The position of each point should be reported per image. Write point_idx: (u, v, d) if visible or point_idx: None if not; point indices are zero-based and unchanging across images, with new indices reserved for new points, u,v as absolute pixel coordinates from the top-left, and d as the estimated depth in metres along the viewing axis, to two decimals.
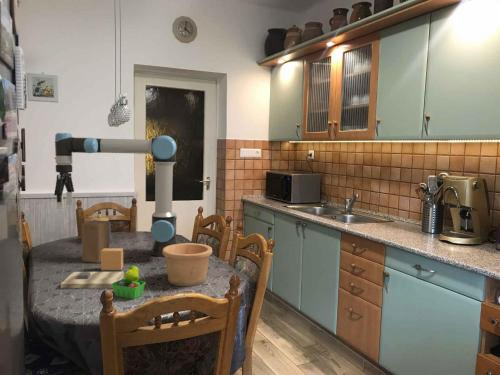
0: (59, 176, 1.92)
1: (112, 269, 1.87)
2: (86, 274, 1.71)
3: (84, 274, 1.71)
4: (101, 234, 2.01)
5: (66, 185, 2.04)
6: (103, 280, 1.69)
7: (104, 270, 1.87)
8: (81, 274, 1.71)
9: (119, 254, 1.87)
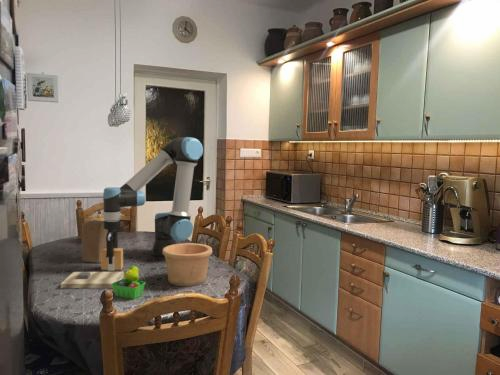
0: (109, 238, 1.82)
1: None
2: (86, 274, 1.71)
3: (84, 274, 1.71)
4: (101, 234, 2.01)
5: None
6: (103, 280, 1.69)
7: (104, 270, 1.87)
8: (81, 274, 1.71)
9: (119, 254, 1.87)
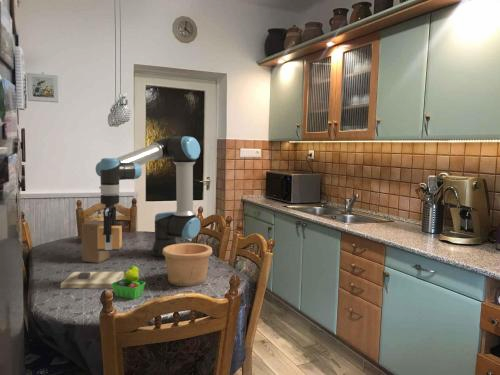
0: (106, 213, 1.64)
1: None
2: (86, 274, 1.71)
3: (84, 274, 1.71)
4: None
5: None
6: (103, 280, 1.69)
7: (101, 249, 1.69)
8: (81, 274, 1.71)
9: (117, 232, 1.69)
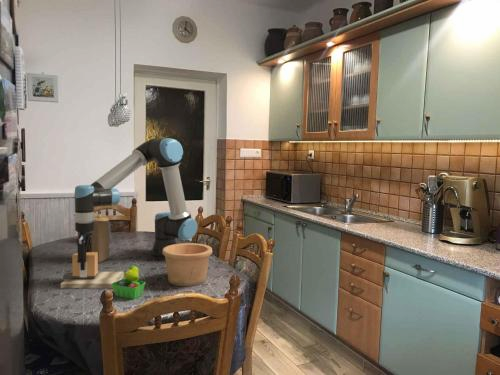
0: (80, 241, 1.64)
1: None
2: (71, 274, 1.70)
3: (69, 274, 1.70)
4: (101, 234, 2.01)
5: None
6: (103, 280, 1.69)
7: (76, 276, 1.69)
8: (66, 274, 1.70)
9: (92, 259, 1.69)
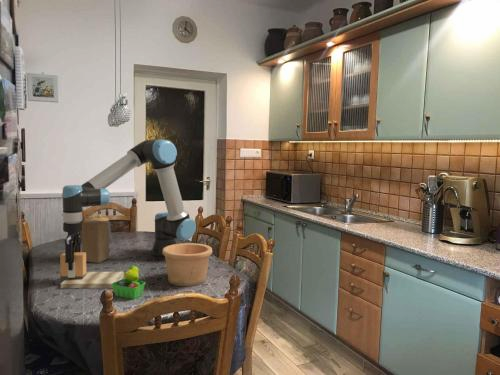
0: (68, 242, 1.63)
1: None
2: (63, 280, 1.70)
3: (61, 280, 1.70)
4: (101, 234, 2.01)
5: None
6: (103, 280, 1.69)
7: (64, 277, 1.69)
8: (58, 280, 1.70)
9: (81, 259, 1.69)
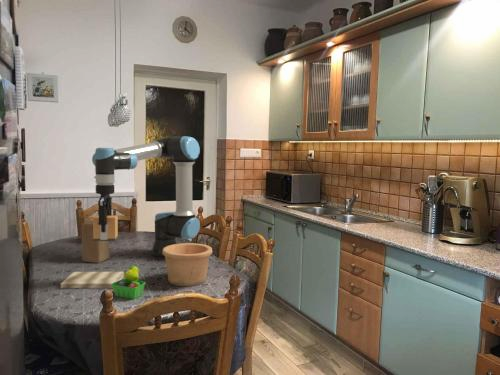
0: (101, 203, 1.63)
1: None
2: (63, 280, 1.70)
3: (61, 280, 1.70)
4: None
5: None
6: (103, 280, 1.69)
7: (96, 239, 1.69)
8: (58, 280, 1.70)
9: (113, 221, 1.69)
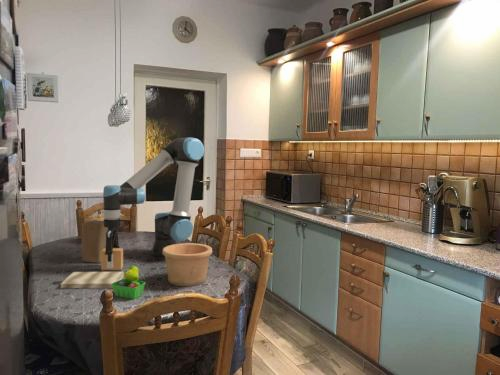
0: (109, 234, 1.81)
1: (112, 269, 1.87)
2: (63, 280, 1.70)
3: (61, 280, 1.70)
4: (101, 234, 2.01)
5: None
6: (103, 280, 1.69)
7: (104, 270, 1.87)
8: (58, 280, 1.70)
9: (119, 254, 1.87)
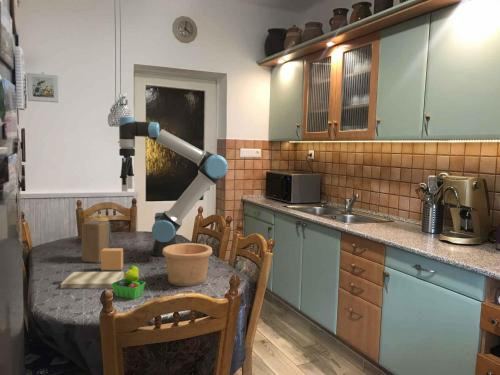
0: (124, 159, 1.94)
1: (112, 269, 1.87)
2: (63, 280, 1.70)
3: (61, 280, 1.70)
4: (101, 234, 2.01)
5: (127, 169, 2.06)
6: (103, 280, 1.69)
7: (104, 270, 1.87)
8: (58, 280, 1.70)
9: (119, 254, 1.87)
